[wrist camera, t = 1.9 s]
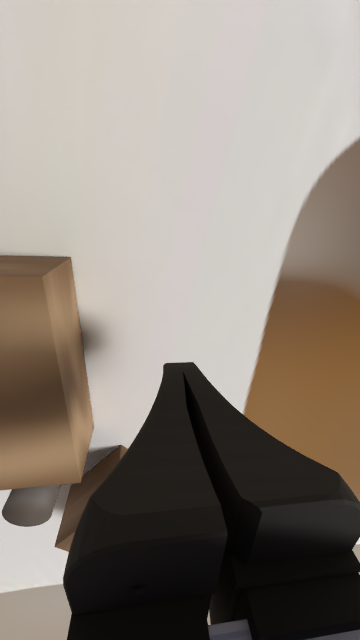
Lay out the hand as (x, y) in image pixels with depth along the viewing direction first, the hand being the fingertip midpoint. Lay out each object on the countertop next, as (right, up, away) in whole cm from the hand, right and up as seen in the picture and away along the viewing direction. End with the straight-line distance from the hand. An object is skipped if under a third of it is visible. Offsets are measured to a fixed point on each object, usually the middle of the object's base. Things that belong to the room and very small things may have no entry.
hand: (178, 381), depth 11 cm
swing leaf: (-9, -1, +4) cm, 10 cm away
